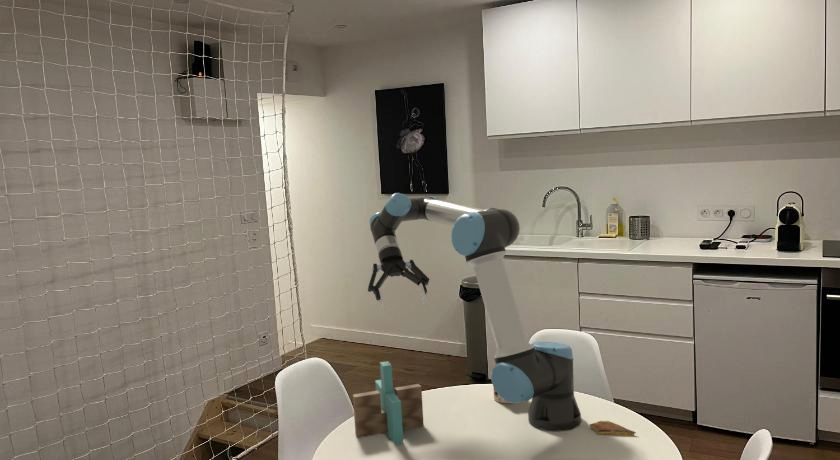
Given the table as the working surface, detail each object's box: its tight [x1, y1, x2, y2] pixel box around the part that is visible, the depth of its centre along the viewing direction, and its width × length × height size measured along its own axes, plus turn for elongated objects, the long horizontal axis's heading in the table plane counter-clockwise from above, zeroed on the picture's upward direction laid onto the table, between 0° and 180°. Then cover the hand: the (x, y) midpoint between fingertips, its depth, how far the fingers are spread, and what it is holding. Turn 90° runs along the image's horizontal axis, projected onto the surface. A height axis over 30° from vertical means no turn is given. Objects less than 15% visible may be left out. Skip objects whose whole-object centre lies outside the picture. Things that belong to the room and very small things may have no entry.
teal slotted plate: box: [374, 360, 404, 445], centre depth 183 cm, size 20×2×20 cm, turn 18°
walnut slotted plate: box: [352, 383, 424, 439], centre depth 183 cm, size 20×2×12 cm, turn 108°
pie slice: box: [589, 420, 636, 437], centre depth 174 cm, size 11×8×2 cm
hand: (404, 305), depth 196 cm, fingers open, 13 cm apart
